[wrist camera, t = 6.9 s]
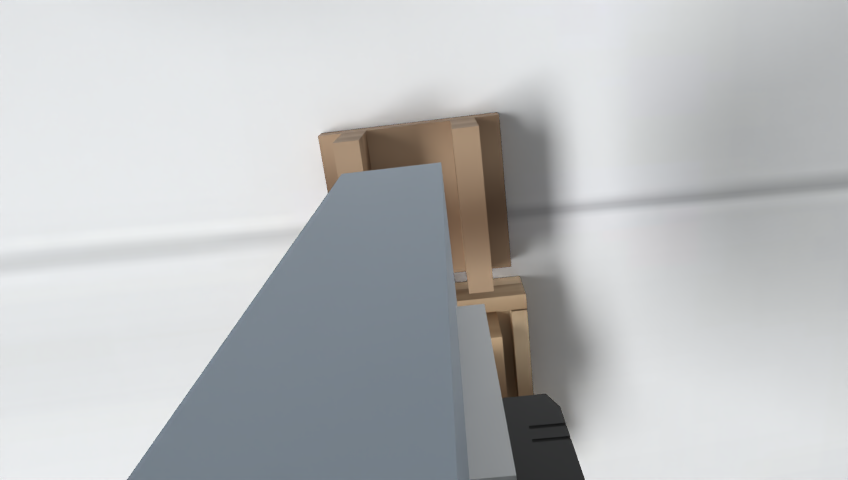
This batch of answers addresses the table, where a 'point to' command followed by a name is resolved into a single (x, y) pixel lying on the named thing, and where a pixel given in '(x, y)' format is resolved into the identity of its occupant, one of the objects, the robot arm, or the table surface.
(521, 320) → the oak rack
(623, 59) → the table surface
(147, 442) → the table surface
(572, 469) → the robot arm
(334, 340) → the grey panel
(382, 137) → the walnut holder
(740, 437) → the table surface
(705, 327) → the table surface
